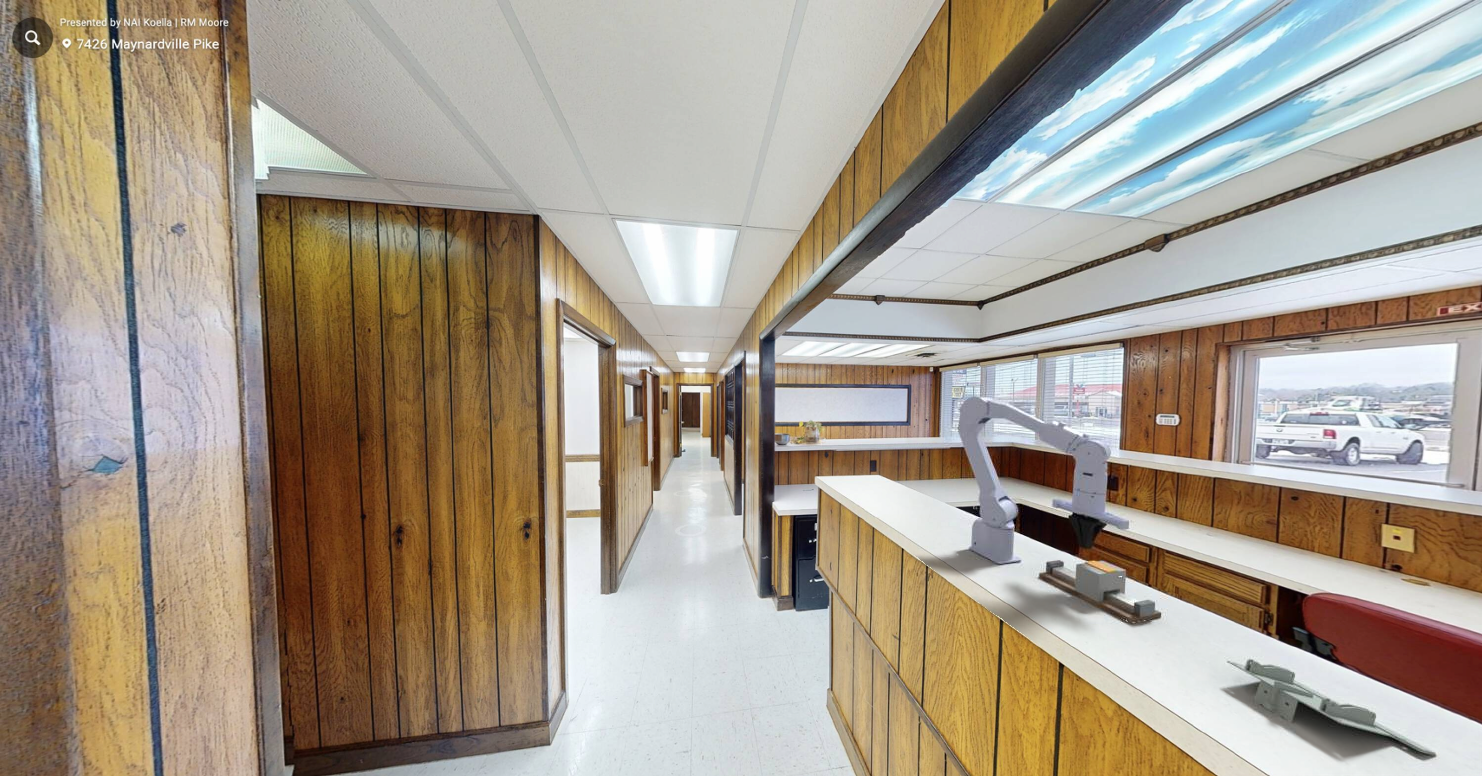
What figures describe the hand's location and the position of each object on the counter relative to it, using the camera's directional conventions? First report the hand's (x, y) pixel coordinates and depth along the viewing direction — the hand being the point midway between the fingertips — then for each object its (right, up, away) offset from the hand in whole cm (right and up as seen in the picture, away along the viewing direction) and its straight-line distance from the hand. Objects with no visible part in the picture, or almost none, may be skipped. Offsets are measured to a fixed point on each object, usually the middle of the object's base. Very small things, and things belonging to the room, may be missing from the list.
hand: (1085, 547), depth 89 cm
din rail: (-1, -9, -3) cm, 10 cm away
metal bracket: (+4, -11, -32) cm, 34 cm away
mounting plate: (-1, -9, -3) cm, 10 cm away
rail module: (-1, -8, -5) cm, 10 cm away
